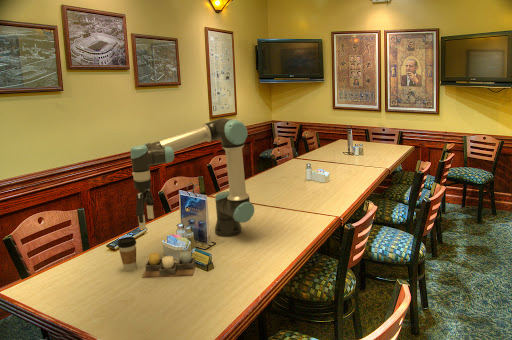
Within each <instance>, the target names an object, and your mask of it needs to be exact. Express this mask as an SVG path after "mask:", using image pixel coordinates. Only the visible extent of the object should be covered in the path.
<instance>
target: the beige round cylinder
mask: <svg viewBox="0 0 512 340" xmlns="http://www.w3.org/2000/svg"><path fill="white" fill-rule="evenodd" d="M161 259H162V263H163V268H165V269H170V268H172V267H174V256H172V255H165V256H163V257H162V258H161Z"/></svg>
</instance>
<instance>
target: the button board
mask: <svg viewBox="0 0 512 340" xmlns="http://www.w3.org/2000/svg"><path fill="white" fill-rule="evenodd" d="M191 259H192V261H191V262H190V263H187V264H183V263H181V257H180V258H179V260H178V262H174V267H172V268H170V269H165V268H163V263H162V258H160V263H159V264H156V265H150V264H149V259H147V262H146V264H145V265H144V268H145V269H144V270H145V271H144V272H143V274H142V276H141V278H142V279H150V278H152V279H153V278H173V277H174V278H176V277H193V275H194V273H195V270H196V267H197V264H195V262H196V257H195V256H194V257H192V256H191Z"/></svg>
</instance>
